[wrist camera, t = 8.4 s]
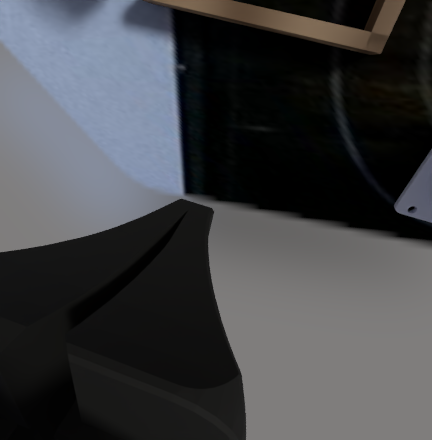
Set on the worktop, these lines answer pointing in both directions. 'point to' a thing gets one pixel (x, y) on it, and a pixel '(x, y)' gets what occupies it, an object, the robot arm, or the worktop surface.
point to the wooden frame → (300, 22)
